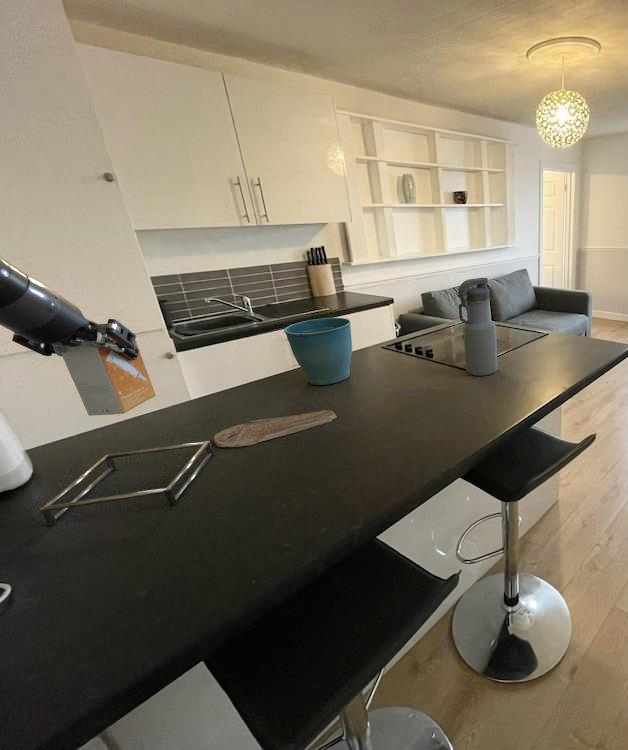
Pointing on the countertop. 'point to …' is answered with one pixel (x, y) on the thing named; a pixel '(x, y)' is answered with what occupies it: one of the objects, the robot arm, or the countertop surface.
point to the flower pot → (322, 348)
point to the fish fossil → (270, 428)
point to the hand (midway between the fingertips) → (111, 357)
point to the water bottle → (478, 328)
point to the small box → (108, 379)
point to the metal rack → (168, 491)
